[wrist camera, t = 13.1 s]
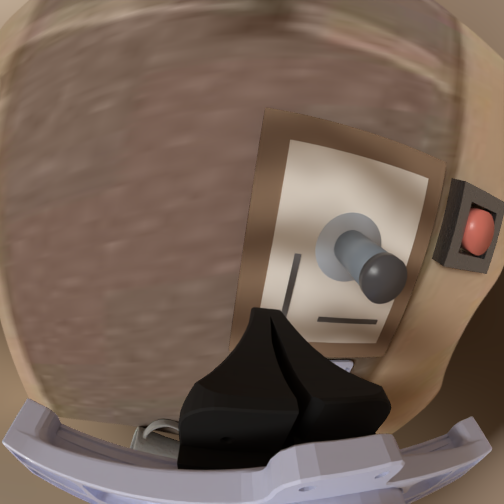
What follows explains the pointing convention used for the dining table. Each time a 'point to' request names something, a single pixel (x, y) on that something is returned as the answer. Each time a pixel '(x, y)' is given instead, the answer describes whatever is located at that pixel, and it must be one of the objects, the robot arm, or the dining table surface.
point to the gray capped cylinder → (371, 266)
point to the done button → (478, 231)
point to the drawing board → (332, 229)
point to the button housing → (456, 224)
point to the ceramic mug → (156, 440)
